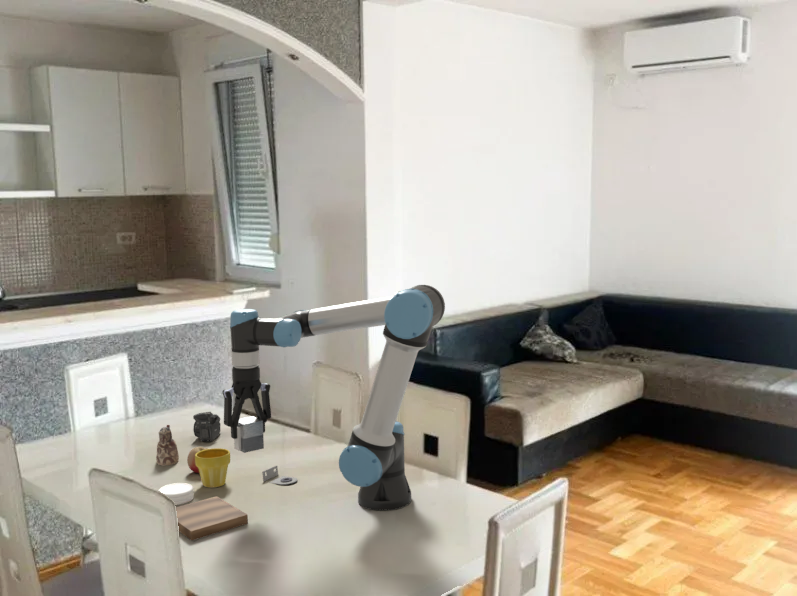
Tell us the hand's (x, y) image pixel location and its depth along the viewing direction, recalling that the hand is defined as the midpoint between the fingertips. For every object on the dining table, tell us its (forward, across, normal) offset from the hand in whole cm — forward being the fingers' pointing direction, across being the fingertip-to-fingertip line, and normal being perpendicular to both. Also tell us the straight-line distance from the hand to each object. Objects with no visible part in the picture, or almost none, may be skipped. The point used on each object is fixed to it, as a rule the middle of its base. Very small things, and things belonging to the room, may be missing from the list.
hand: (248, 446), depth 225 cm
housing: (0, 0, 0) cm, 0 cm away
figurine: (+18, +3, -54) cm, 57 cm away
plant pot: (+18, 0, -24) cm, 29 cm away
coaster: (+18, +14, -19) cm, 30 cm away
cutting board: (+17, +15, +2) cm, 23 cm away
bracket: (+18, -17, -13) cm, 28 cm away
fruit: (+18, -1, -37) cm, 41 cm away
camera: (+18, -19, -70) cm, 75 cm away
